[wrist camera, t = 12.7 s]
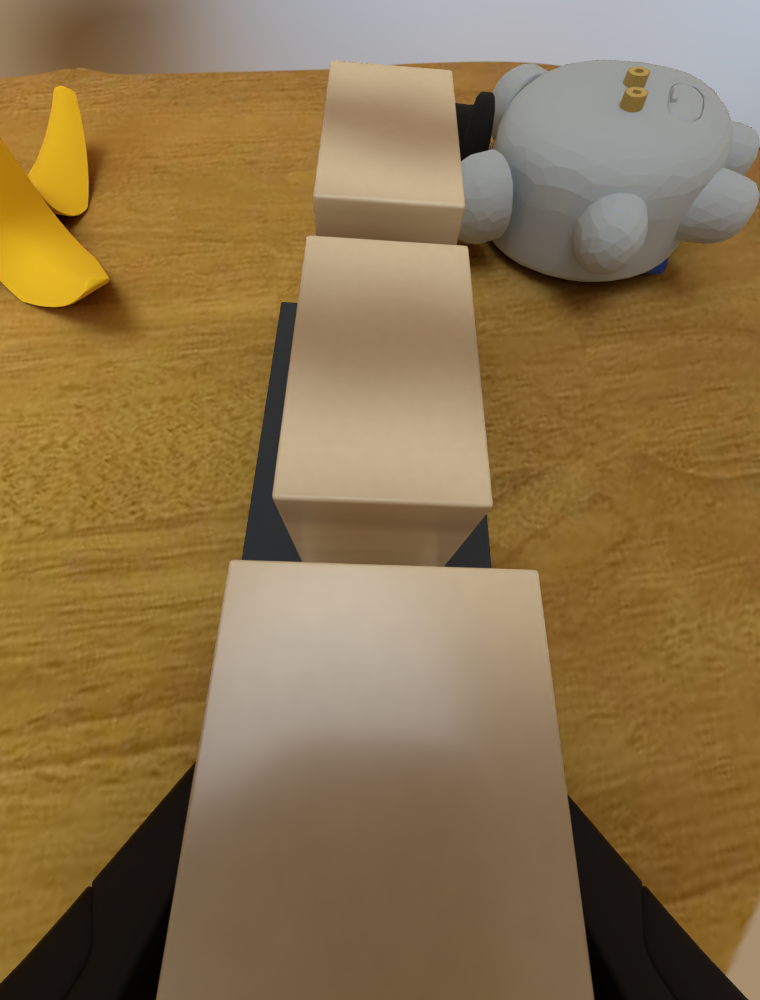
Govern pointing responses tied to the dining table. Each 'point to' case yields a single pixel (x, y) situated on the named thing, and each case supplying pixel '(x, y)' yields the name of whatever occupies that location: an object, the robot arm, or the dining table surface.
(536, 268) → the figurine
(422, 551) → the word tile
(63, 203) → the banana peel
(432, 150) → the light wood tall block
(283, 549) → the word board
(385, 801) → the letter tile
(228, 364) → the dining table surface
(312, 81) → the dining table surface
